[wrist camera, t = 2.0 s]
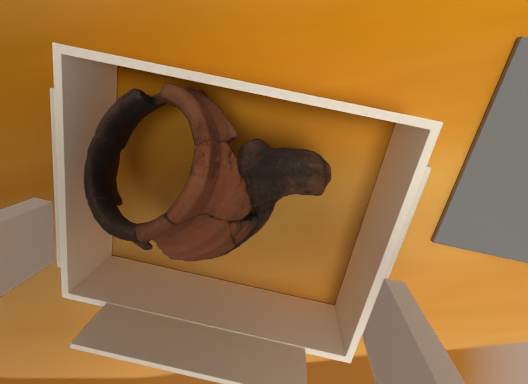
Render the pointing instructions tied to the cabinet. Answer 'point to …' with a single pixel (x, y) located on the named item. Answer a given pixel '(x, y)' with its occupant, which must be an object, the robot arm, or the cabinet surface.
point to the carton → (205, 288)
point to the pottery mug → (198, 178)
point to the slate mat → (495, 174)
